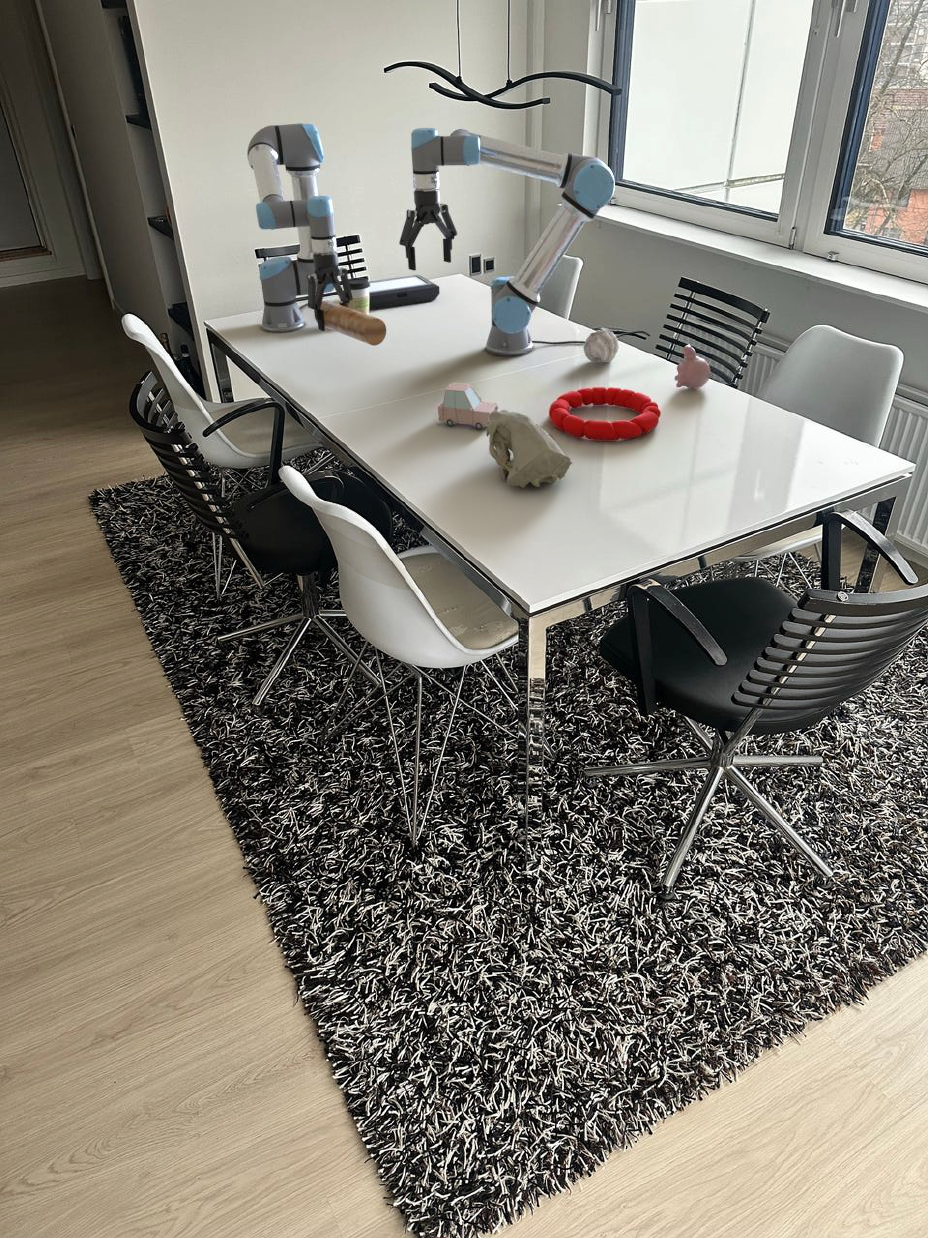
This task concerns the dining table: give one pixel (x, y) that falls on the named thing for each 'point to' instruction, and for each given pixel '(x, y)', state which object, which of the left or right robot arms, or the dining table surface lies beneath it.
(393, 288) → the electronic device
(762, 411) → the dining table surface
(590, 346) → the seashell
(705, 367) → the figurine
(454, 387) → the toy car
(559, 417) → the decorative ring
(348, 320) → the brown cylinder
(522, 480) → the grey irregular stone chunk
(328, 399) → the dining table surface
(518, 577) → the dining table surface
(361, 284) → the coffee cup
